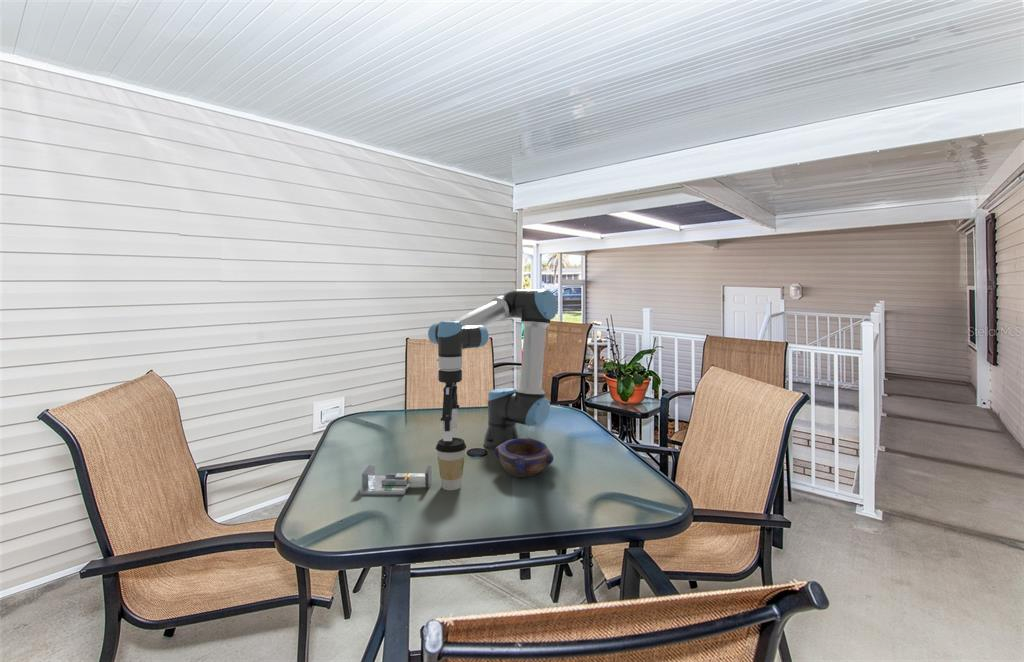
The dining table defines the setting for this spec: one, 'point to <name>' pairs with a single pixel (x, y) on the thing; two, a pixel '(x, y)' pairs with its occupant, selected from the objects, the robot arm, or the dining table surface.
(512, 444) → the bowl
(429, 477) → the plunger
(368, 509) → the dining table surface
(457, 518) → the dining table surface
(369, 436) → the dining table surface
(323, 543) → the dining table surface
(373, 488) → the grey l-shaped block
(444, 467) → the coffee cup
